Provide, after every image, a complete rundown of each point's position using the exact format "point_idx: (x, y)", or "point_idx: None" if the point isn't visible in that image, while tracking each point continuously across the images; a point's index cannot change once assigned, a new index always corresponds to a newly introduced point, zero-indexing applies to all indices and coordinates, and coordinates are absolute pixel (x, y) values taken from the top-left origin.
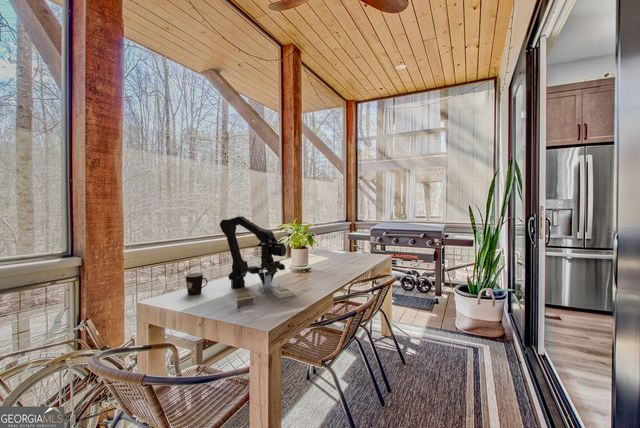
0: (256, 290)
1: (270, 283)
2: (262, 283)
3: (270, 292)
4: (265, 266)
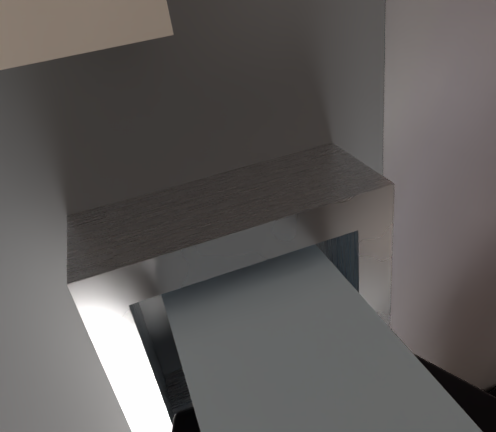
0: None
1: (211, 378)
2: None
3: (181, 164)
4: None
